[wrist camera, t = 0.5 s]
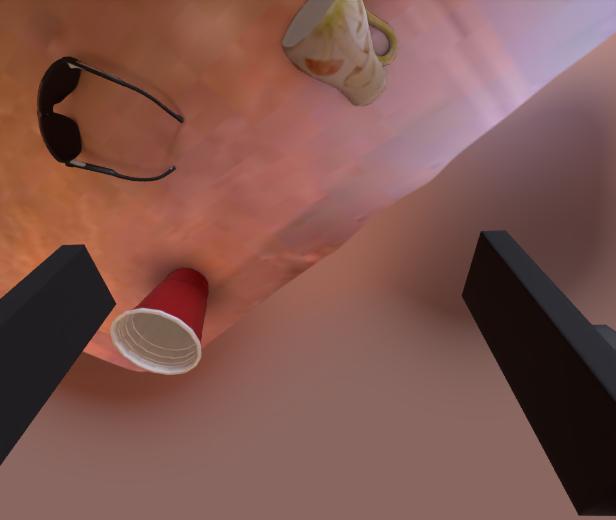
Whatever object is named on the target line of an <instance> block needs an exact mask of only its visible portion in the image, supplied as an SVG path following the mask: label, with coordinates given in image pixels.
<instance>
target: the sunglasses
mask: <svg viewBox="0 0 616 520" xmlns="http://www.w3.org/2000/svg"><path fill="white" fill-rule="evenodd" d="M81 69H83V70H86V71H89V72H91V73H93V74H96V75H98V76H101V77H103V78H105V79H108V80H110V81H113V82H115V83H117V84H120V85H122V86H125V87H128V88H130V89H132V90H135V91H137V92H139V93H141V94H142V95H144V96H146V97H147V98H149V99H151V100H152V101H154V102H155V103H156V104H157V105H159V106H160V107H161V108H163V109H164V110H165V111H166V112H167V113H169V114H170V115H171V116H173V117H174V118H176V119H177V120H178V121H179V122H181V123H183V122H184V121H183V119H182V118H181V117H180V116H178V115H176V114H175V113H173V112H172V111H171V110H169V109H168V108H167V107H165V106H164V105H163V104H162V103H160V102H159V101H158V100H157V99H155V98H154V97H152V96H151V95H149V94H148V93H146V92H144V91H143V90H141V89H139V88H137V87H135V86H132V85H130V84H128V83H126V82H124V81H122V80H121V79H120V78H118V77H115V76H113V75H111V74H108V73H106V72H103V71H101V70H99V69H96V68H94V67H92V66H89V65H87V64H84V63H82V62H81V61H79V60H77V59H75V58H72V57H63V58H62V59H59V60H57V61H56V62H54V63H53V64H52V65H51V66H50V67H49V68H48V70H47V71H46V73H45V75H44V76H43V78H42V80H41V83H40V86H39V90H38V97H37V108H38V111H37V114H38V121H39V128H40V132H41V135H42V138H43V141H44V143H45V145H46V147H47V148H48V150H49V151H50V153H51V155H52V156H53V157H54V158H55V159H56V160H57V161H58V162H61V163H65V165H66V166H68V167H77V168H82V169H86V170H90V171H95V172H99V173H103V174H108V175H112V176H115V177H118V178H122V179H126V180H132V181H154V180H158V179H161V178H163V177H165V176H167V175H168V174H170V173H171V172H173V171H174V170H175V169H176V168H175V167H171V168H170V169H169V170H168V171H167V172H165V173H164V174H162V175H160V176H157V177H153V178H135V177H129V176H124V175H121V174H118V173H117V172H115V171H114V170H112V169H109V168H105V167H101V166H96V165H92V164H88V163H84V162H80V161H78V160H77V159H75V158H76V157H77V156H78V155H79V154H80V152H81V149H82V145H81V139H80V134H79V130H78V126H77V124H76V123H75V122H74V121H73V120H72V119H70V118H69V117H66V116H64V115H61V114H57V113H54V112H53V106H54V104H57V103H59V102H61V101H62V100H63V99H64V98H65V97H66V96H67V95H69V94H70V93H71V92H72V91H73V90H74V89H75V88H76V86H77V84H78V80H79V76H80V72H81ZM47 114H48V115H47Z"/></svg>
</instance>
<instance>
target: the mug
mask: <svg viewBox="0 0 616 520" xmlns="http://www.w3.org/2000/svg"><path fill="white" fill-rule="evenodd" d="M368 24H370V25H372V26H374V27H376V28H378V29H380V30H381V31H382V32H383V33H384V34H385V35H386V36H387V37H388V39H389V42H390V48H389V50H388V52H387V54H386V55H385V56H383V57H381V56H379V55H377V54H376V53H375V52H374V49H373V45H372V40H371V35H370V30H369V26H368ZM282 48H283V51H284V53H285V54H286V56H287V57H288V58H289V60H290V61H291V62H292V63H293V64H294V65H295V66H296V67H297V68H298V69H299V70H301V71H302V72H304V73H305V74H307V75H309V76H311V77H313V78H316V79H318V80H320V81H323V82H325V83H327V84H329V85H332V86H334V87H336V88H337V89H338V90H340V91H341V92H342V93H343V94H344V95H345V96H346V97H347V98H348V99H349V101H350V102H351V103H352V104H353V105H355V106H366V105H369V104H371V103H372V102H374V101H375V100H376V99H377V98H378V97H379V96H380V95H381V94H382V93H383V91H384V89H385V86H386V79H387V73H386V71H385V69H384V68H383V66H385V65H389V64H390V63H391V62H392V61H393V60H394V59H395V56H396V53H397V49H398V40H397V36H396V34H395V32H394V30H393V29H392V28H391V27H390V26H389V25H388V24H387V23H386V22H384V21H382V20H381V19H379V18H377V17H376V16H375V15H373V14H372V13H370V12H369V11H368V10H366V9H365V7H364V4H363V1H362V0H308V1H307V2H306V4H305V5H304V6H303V7H302V8H301V10H300V11H299V12H298V14H297V15H296V16H295V18H294V19H293V21H292V22H291V24H290V26H289V28H288V30H287V32H286V34H285V36H284V39H283V41H282Z"/></svg>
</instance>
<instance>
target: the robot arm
mask: <svg viewBox="0 0 616 520" xmlns="http://www.w3.org/2000/svg"><path fill="white" fill-rule="evenodd" d="M462 297H463V299H464V301H465V303H466V305H467V307H468V308H469V310H470V312H471V314H472V316H473V318H474V320H475V322H476V323H477V325H478V327H479V329H480V331H481V333H482V335H483V337H484V339H485V340H486V342H487V344H488V346H489V348H490V350H491V352H492V353H493V355H494V357H495V359H496V361H497V363H498V365H499V366H500V368H501V370H502V372H503V374H504V376H505V378H506V380H507V382H508V383H509V385H510V387H511V389H512V391H513V393H514V395H515V397H516V399H517V400H518V402H519V404H520V406H521V408H522V410H523V412H524V413H525V415H526V417H527V419H528V421H529V423H530V425H531V426H532V429H533V430H534V432H535V434H536V436H537V438H538V439H539V442H540V443H541V445H542V447H543V449H544V451H545V453H546V455H547V457H548V459H549V460H550V462H551V464H552V466H553V468H554V470H555V472H556V474H557V476H558V477H559V479H560V481H561V483H562V485H563V487H564V489H565V491H566V492H567V494H568V496H569V498H570V500H571V502H572V504H573V506H574V507H575V509H576V511H577V513H578V515H579V516H580V515H581V516H585V515H586V516H616V331H614V330H613V329H611V328H610V327H608V326H607V325H592V324H591V323H590V322H589V321H588V320H587V319H586V318H585V317H584V316H583V315H582V314H581V312H580V311H579V310H578V309H577V308H576V307H575V306H574V305H573V304H572V303H571V301H570V300H569V299H568V298H567V297H566V296H565V295H564V294H563V293H562V292H561V291H560V289H559V288H558V287H557V286H556V285H555V284H554V283H553V282H552V281H551V280H550V278H549V277H548V276H547V275H546V274H545V273H544V272H543V271H542V270H541V269H540V268H539V266H538V265H537V264H536V263H535V262H534V261H533V260H532V259H531V258H530V257H529V256H528V255H527V253H526V252H525V251H524V250H523V249H522V248H521V247H520V246H519V245H518V243H517V242H516V241H515V240H514V239H513V238H512V237H511V236H510V235H509V234H508V233H507V231H481V233H480V236H479V239H478V243H477V246H476V249H475V253H474V256H473V260H472V263H471V266H470V270H469V273H468V276H467V280H466V283H465V287H464V290H463V293H462ZM115 305H116V302H115V301H114V299H113V297H112V295H111V293H110V291H109V290H108V288H107V286H106V284H105V282H104V280H103V278H102V277H101V275H100V273H99V271H98V269H97V267H96V265H95V264H94V262H93V260H92V258H91V256H90V254H89V253H88V251H87V249H86V247H85V245H84V244H83V245H62V246H61V247H60V248H59V249H57V250H56V251H55V252H54V253H53V254H52V255H51V256H49V257H48V258H47V259H46V260H45V261H44V262H42V263H41V264H40V265H39V266H38V267H37V268H36V269H34V270H33V271H32V272H31V273H30V274H29V275H27V276H26V277H25V278H24V279H23V280H22V281H21V282H19V283H18V284H17V285H16V286H15V287H14V288H12V289H11V290H10V291H9V292H8V293H7V294H6V295H4V296H3V297H2V298H1V299H0V465H1V464H2V462H3V461H4V460H5V458H6V456H8V454H9V453H10V451H11V450H12V449H13V447H14V446H15V444H16V443H17V442H18V440H19V439H20V437H21V436H22V435H23V433H24V432H25V430H26V429H27V428H28V426H29V425H30V423H31V422H32V421H33V419H34V418H35V416H36V415H37V414H38V412H39V411H40V409H41V408H42V407H43V405H44V404H45V403H46V401H47V400H48V398H49V397H50V396H51V394H52V393H53V391H54V390H55V389H56V387H57V386H58V384H59V383H60V382H61V380H62V379H63V377H64V376H65V375H66V373H67V372H68V371H69V369H70V368H71V366H72V365H73V363H74V362H75V361H76V359H77V358H78V357H79V355H80V354H81V352H82V351H83V350H84V348H85V347H86V346H87V344H88V343H89V341H90V340H91V339H92V337H93V336H94V334H95V333H96V332H97V330H98V329H99V327H100V326H101V325H102V323H103V322H104V320H105V319H106V318H107V316H108V315H109V313H110V312H111V311H112V309H113V308H114V307H115Z"/></svg>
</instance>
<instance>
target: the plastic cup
mask: <svg viewBox="0 0 616 520" xmlns="http://www.w3.org/2000/svg"><path fill="white" fill-rule="evenodd" d="M207 296H208V282H207V281H206V279H205V277H204V276H203V275H201V274H200V273H199V272H197V271H194V270H192V269H186V268H182V269H178V270H175V271H174V272H172V273H171V274H170V275H168V277H167V278H166V279H165V280H164V281H163V282H162V283H161V284H159V285H158V286H157V287H156V288H155V289H154V290H153V291H152V292H151V293H150V294H149V295H148V296H147V297H146V298H145V299H144V300H143V301H142V302H141V303H140V304H139V305H138V306H136V307H135V308H134V309H132V310H128V311H125V312H124V313H122V314H121V315H120V316H118V317H117V318H116V319H114V320H113V323H112V326H111V329H110V334H111V337H112V341H113V344H114V346H115V347H116V348H117V349H118V350H119V352H120V353H121V354H122V355H123V356H124V357H125V358H126V359H128V360H129V361H131V362H132V363H134V364H135V365H136V366H138V367H141V368H143V369H146V370H149V371H151V372H154V373H161V374H167V375H173V374H180V373H185V372H187V371H189V370H191V369H193V368H194V367H196V365H197V363H198V361H199V360H200V358H201V338H202V329H203V323H204V317H205V312H206V306H207Z"/></svg>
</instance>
